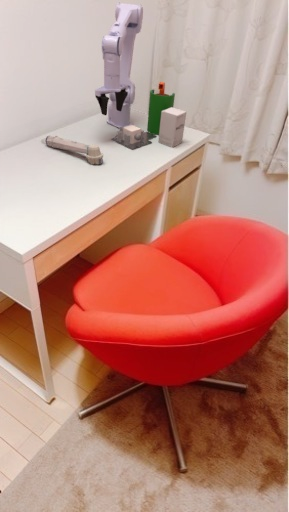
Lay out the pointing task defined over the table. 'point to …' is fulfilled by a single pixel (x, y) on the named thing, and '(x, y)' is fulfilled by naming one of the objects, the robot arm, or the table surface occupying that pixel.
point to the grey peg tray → (126, 142)
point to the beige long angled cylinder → (76, 148)
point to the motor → (158, 108)
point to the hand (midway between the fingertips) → (111, 112)
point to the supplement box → (172, 126)
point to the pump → (132, 133)
